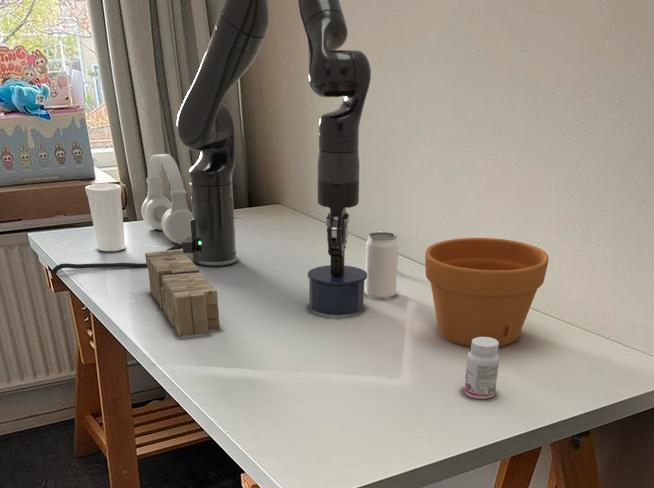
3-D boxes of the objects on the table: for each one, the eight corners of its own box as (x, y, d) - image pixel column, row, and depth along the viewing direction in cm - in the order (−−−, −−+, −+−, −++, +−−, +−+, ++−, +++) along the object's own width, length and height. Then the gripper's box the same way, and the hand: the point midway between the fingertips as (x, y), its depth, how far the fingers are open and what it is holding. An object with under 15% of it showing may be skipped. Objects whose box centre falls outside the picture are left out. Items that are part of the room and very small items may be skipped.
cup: (136, 248, 187) (128, 186, 180) (110, 255, 181) (102, 191, 174) (112, 243, 191) (104, 181, 183) (86, 250, 185) (77, 187, 177)
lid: (303, 286, 145) (303, 253, 141) (311, 269, 154) (311, 238, 151) (364, 289, 144) (365, 256, 141) (369, 272, 154) (370, 240, 150)
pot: (306, 316, 148) (306, 284, 145) (313, 299, 157) (313, 268, 154) (360, 319, 147) (361, 286, 144) (365, 301, 156) (366, 270, 153)
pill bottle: (460, 386, 121) (466, 335, 117) (490, 386, 122) (497, 335, 117) (467, 400, 117) (473, 347, 113) (498, 399, 118) (505, 346, 113)
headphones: (200, 242, 193) (194, 159, 182) (168, 246, 189) (159, 162, 179) (172, 225, 207) (165, 147, 197) (142, 229, 203) (132, 149, 193)
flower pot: (462, 363, 129) (471, 275, 122) (398, 324, 145) (402, 244, 138) (561, 344, 138) (575, 260, 130) (490, 308, 154) (499, 232, 146)
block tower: (222, 338, 140) (186, 286, 162) (219, 293, 135) (183, 246, 157) (178, 343, 137) (148, 290, 159) (174, 297, 132) (144, 248, 155)
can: (399, 292, 162) (402, 233, 156) (390, 301, 157) (393, 240, 150) (370, 288, 164) (372, 230, 157) (360, 297, 158) (362, 237, 152)
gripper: (322, 169, 146) (322, 262, 155) (312, 183, 134) (313, 282, 143) (362, 171, 145) (359, 263, 154) (355, 185, 133) (353, 284, 142)
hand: (337, 272), depth 148 cm, fingers closed on lid, 2 cm apart
